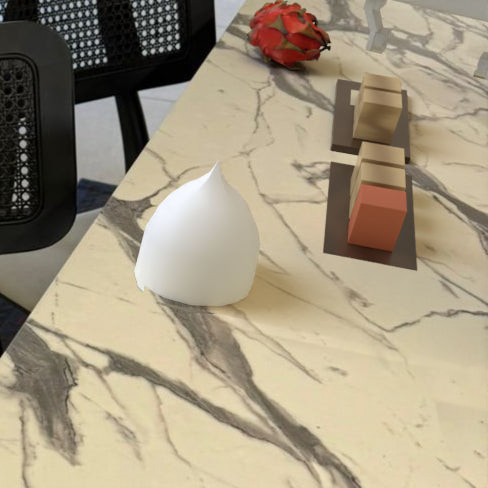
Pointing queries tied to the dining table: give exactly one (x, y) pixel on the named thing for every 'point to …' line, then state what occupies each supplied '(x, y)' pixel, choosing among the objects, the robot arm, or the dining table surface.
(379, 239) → the rust red cube
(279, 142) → the dining table surface
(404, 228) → the grooved block on base
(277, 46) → the dragon fruit
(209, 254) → the teardrop
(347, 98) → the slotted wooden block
